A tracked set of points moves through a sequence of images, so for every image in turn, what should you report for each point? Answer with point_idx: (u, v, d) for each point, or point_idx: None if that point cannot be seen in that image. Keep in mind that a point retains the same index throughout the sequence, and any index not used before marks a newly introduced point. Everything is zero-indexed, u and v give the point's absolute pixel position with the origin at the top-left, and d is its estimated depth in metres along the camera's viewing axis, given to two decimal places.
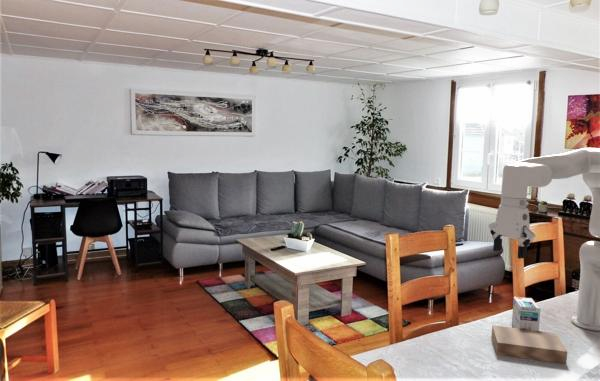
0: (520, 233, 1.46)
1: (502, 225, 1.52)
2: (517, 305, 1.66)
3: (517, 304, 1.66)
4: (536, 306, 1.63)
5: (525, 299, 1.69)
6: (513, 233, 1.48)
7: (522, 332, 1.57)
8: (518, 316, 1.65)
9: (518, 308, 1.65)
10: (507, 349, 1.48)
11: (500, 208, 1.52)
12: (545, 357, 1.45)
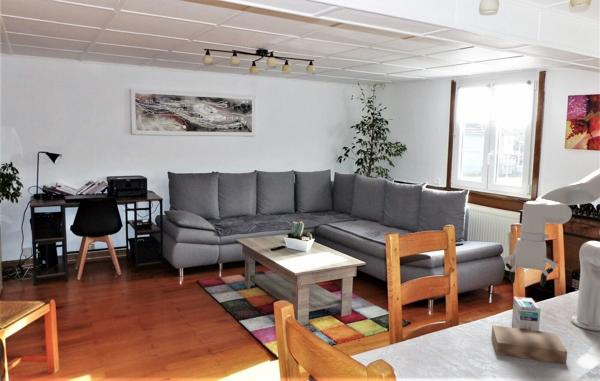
0: (545, 264, 1.62)
1: (526, 259, 1.63)
2: (517, 305, 1.66)
3: (517, 304, 1.66)
4: (536, 306, 1.63)
5: (525, 299, 1.69)
6: (539, 265, 1.62)
7: (522, 332, 1.57)
8: (518, 316, 1.65)
9: (518, 308, 1.65)
10: (507, 349, 1.48)
11: (523, 243, 1.62)
12: (545, 357, 1.45)
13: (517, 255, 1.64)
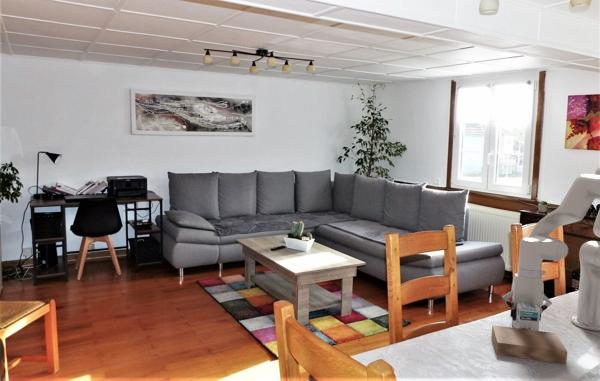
0: None
1: (523, 295, 1.64)
2: (517, 305, 1.66)
3: (517, 304, 1.66)
4: (536, 306, 1.63)
5: None
6: (536, 301, 1.64)
7: (522, 332, 1.57)
8: (518, 316, 1.65)
9: (518, 308, 1.65)
10: (507, 349, 1.48)
11: (520, 279, 1.64)
12: (545, 357, 1.45)
13: (515, 291, 1.65)
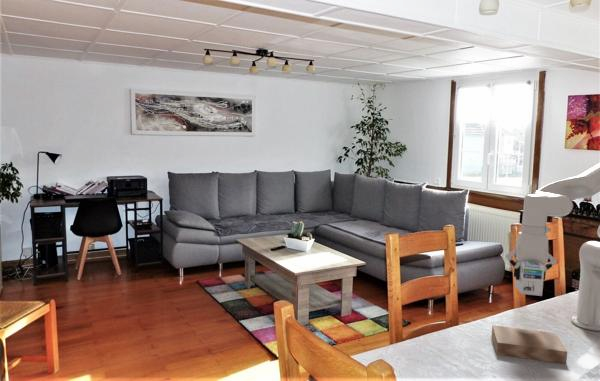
0: None
1: (527, 252, 1.59)
2: None
3: None
4: (540, 264, 1.58)
5: None
6: (541, 259, 1.58)
7: (522, 332, 1.57)
8: (521, 274, 1.59)
9: (521, 266, 1.60)
10: (507, 349, 1.48)
11: (524, 237, 1.59)
12: (545, 357, 1.45)
13: (518, 249, 1.60)
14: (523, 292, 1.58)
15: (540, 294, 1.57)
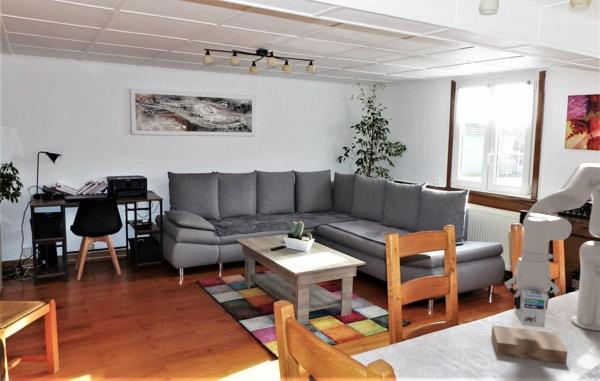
0: None
1: (528, 281, 1.48)
2: (521, 292, 1.50)
3: (521, 291, 1.50)
4: (542, 293, 1.47)
5: None
6: (543, 287, 1.48)
7: (522, 332, 1.57)
8: (522, 304, 1.49)
9: (522, 295, 1.49)
10: (507, 349, 1.48)
11: (525, 264, 1.48)
12: (545, 357, 1.45)
13: (519, 277, 1.49)
14: (524, 323, 1.47)
15: (542, 325, 1.46)
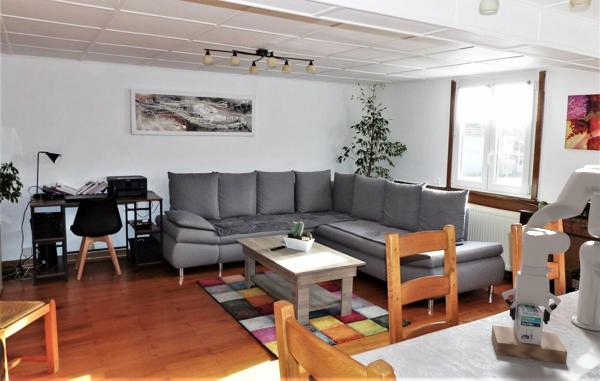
0: (548, 300, 1.48)
1: (527, 294, 1.49)
2: (518, 309, 1.51)
3: (518, 308, 1.51)
4: (539, 310, 1.48)
5: None
6: (542, 301, 1.48)
7: None
8: (519, 321, 1.50)
9: (519, 312, 1.50)
10: (507, 349, 1.48)
11: (524, 277, 1.49)
12: (545, 357, 1.45)
13: (517, 290, 1.50)
14: (521, 340, 1.49)
15: (539, 343, 1.47)
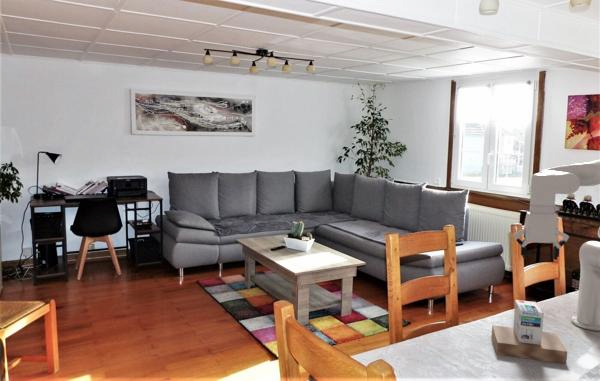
0: (557, 237, 1.57)
1: (537, 232, 1.58)
2: (518, 309, 1.51)
3: (518, 308, 1.51)
4: (539, 310, 1.48)
5: (528, 303, 1.54)
6: (551, 238, 1.57)
7: None
8: (519, 321, 1.50)
9: (519, 312, 1.50)
10: (507, 349, 1.48)
11: (534, 217, 1.57)
12: (545, 357, 1.45)
13: (528, 229, 1.59)
14: (521, 340, 1.49)
15: (539, 343, 1.47)
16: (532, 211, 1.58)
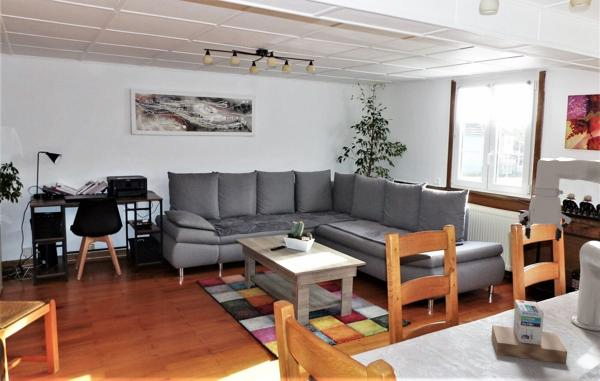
0: (560, 219, 1.66)
1: (541, 214, 1.67)
2: (518, 309, 1.51)
3: (518, 308, 1.51)
4: (539, 310, 1.48)
5: (528, 303, 1.54)
6: (554, 220, 1.66)
7: None
8: (519, 321, 1.50)
9: (519, 312, 1.50)
10: (507, 349, 1.48)
11: (538, 199, 1.67)
12: (545, 357, 1.45)
13: (532, 211, 1.68)
14: (521, 340, 1.49)
15: (539, 343, 1.47)
16: (537, 194, 1.67)
